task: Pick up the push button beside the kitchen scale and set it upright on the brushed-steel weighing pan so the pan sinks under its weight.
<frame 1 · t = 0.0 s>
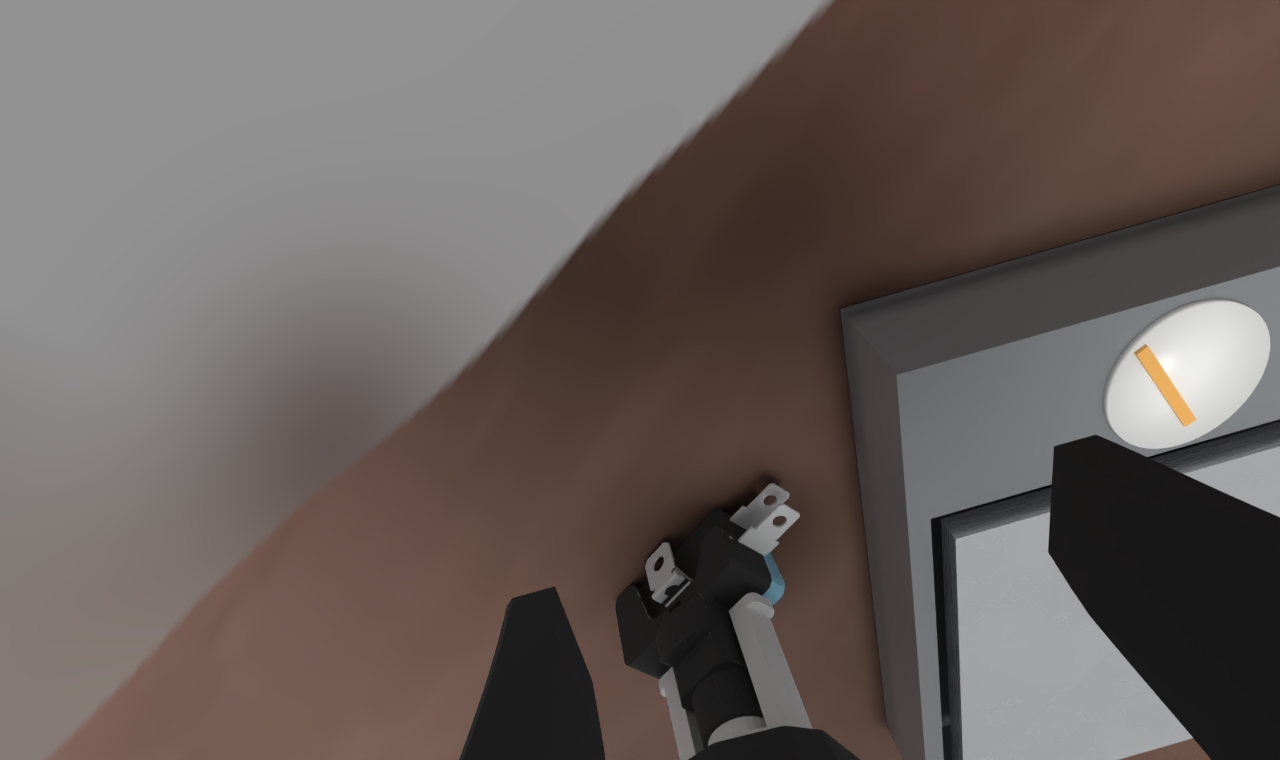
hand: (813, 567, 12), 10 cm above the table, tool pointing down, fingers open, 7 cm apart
weighing pan: (1149, 621, 24), point 4 cm above the table, slide at 0.0 cm
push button: (703, 548, 25), on the table
scale housing: (1078, 494, 26), on the table
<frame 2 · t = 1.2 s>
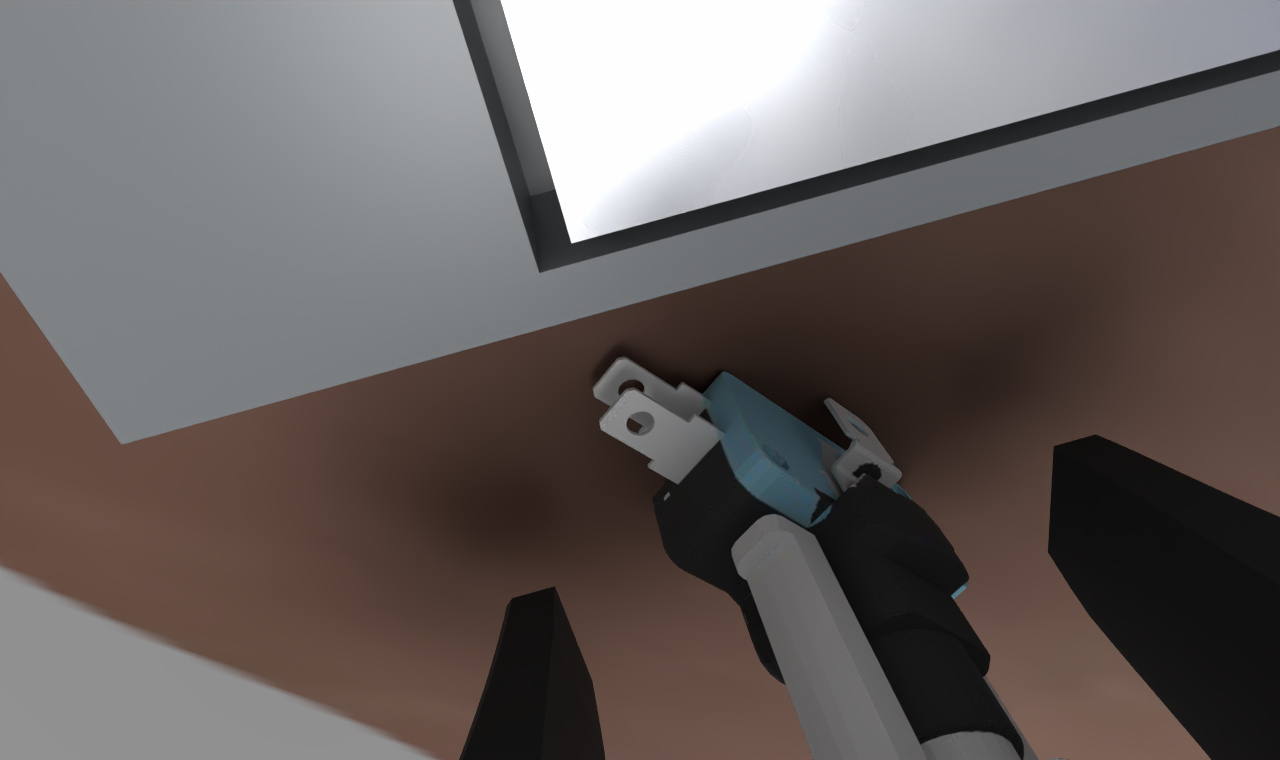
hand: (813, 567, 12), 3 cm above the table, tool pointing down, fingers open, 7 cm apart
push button: (753, 441, 14), on the table
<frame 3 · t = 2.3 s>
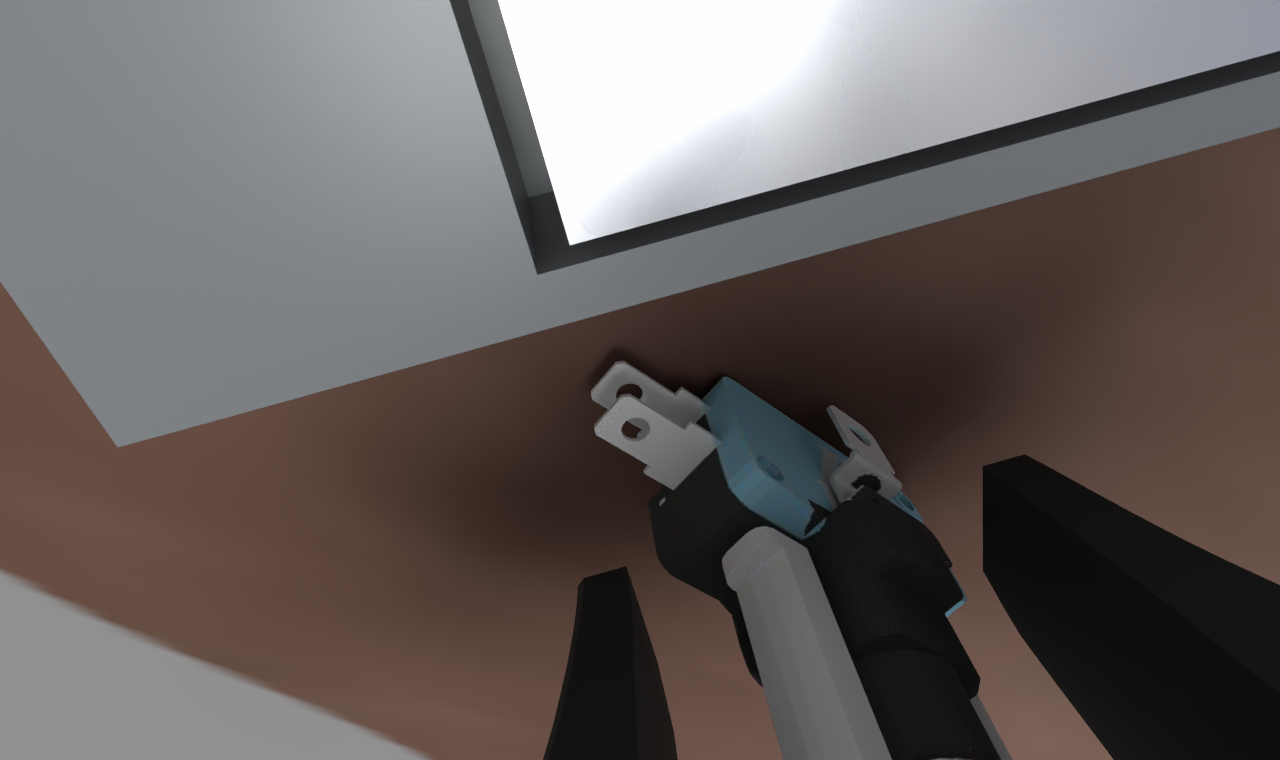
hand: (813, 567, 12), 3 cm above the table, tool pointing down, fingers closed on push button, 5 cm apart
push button: (755, 445, 14), on the table, touching gripper
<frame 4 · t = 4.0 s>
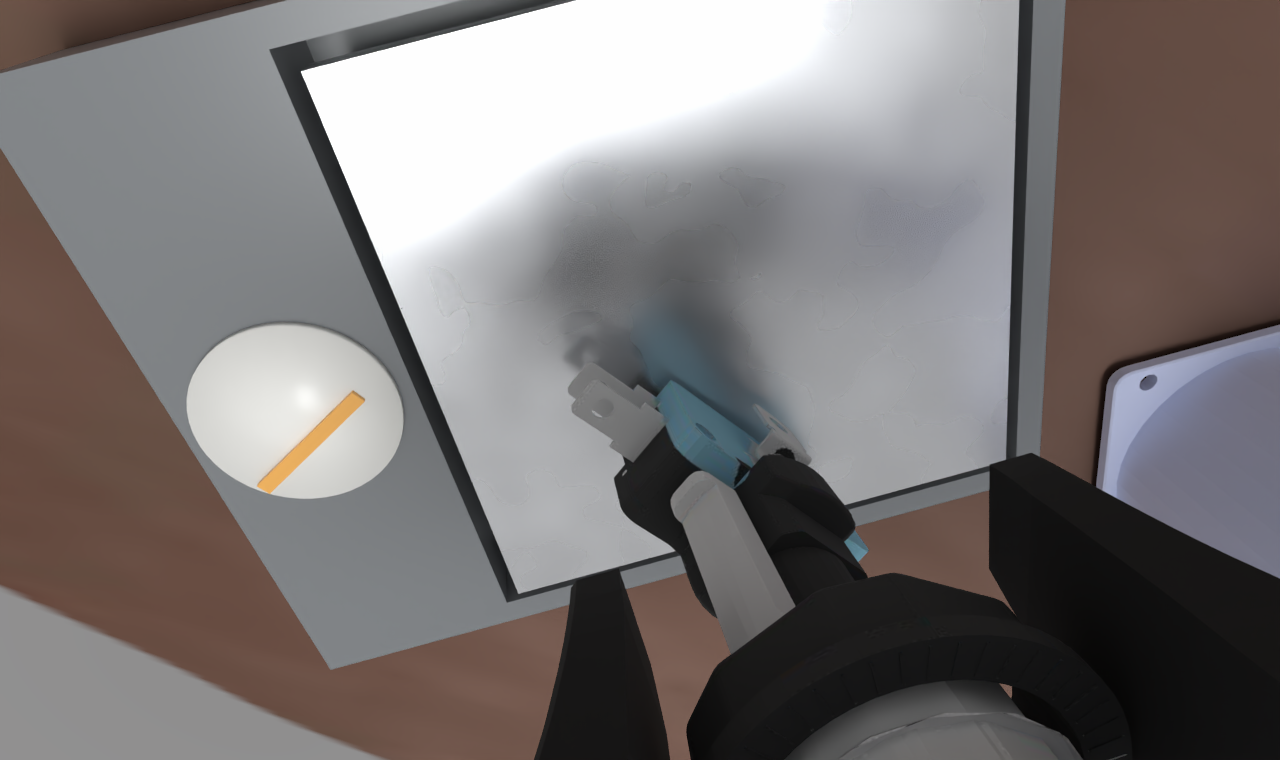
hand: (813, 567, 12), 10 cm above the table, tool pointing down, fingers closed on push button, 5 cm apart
weighing pan: (719, 297, 17), point 3 cm above the table, slide at 0.3 cm
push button: (699, 443, 18), point 4 cm above the table, touching gripper
scale housing: (605, 261, 19), on the table
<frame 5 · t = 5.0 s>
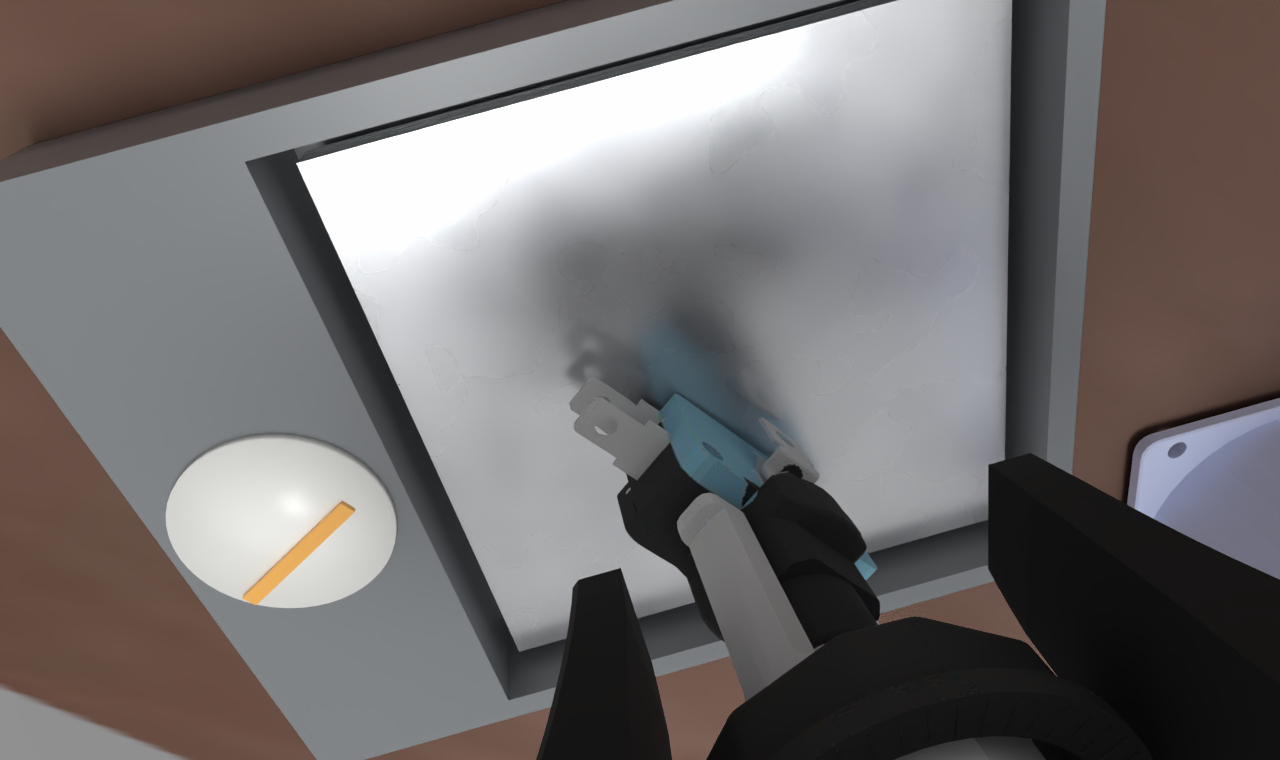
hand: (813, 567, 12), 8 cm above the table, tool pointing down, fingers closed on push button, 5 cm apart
weighing pan: (715, 364, 17), point 2 cm above the table, slide at 1.5 cm, touching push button
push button: (703, 456, 17), point 3 cm above the table, touching gripper, weighing pan
scale housing: (608, 342, 18), on the table
when the fingers open (8 cm above the table, at t = 5.5 s): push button stays where it is, resting on weighing pan.
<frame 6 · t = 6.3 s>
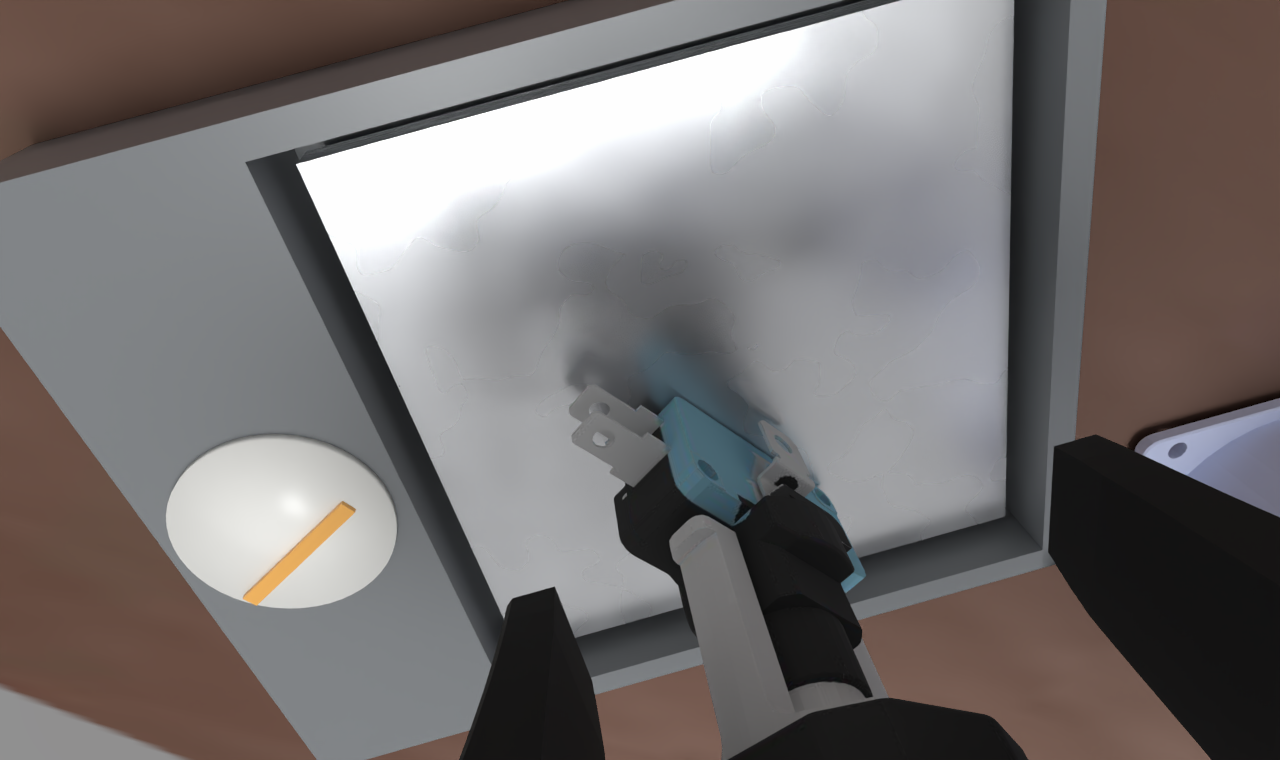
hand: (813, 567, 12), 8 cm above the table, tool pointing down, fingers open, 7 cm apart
weighing pan: (716, 365, 17), point 2 cm above the table, slide at 1.4 cm, touching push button
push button: (702, 452, 17), point 2 cm above the table, touching weighing pan
scale housing: (608, 342, 18), on the table
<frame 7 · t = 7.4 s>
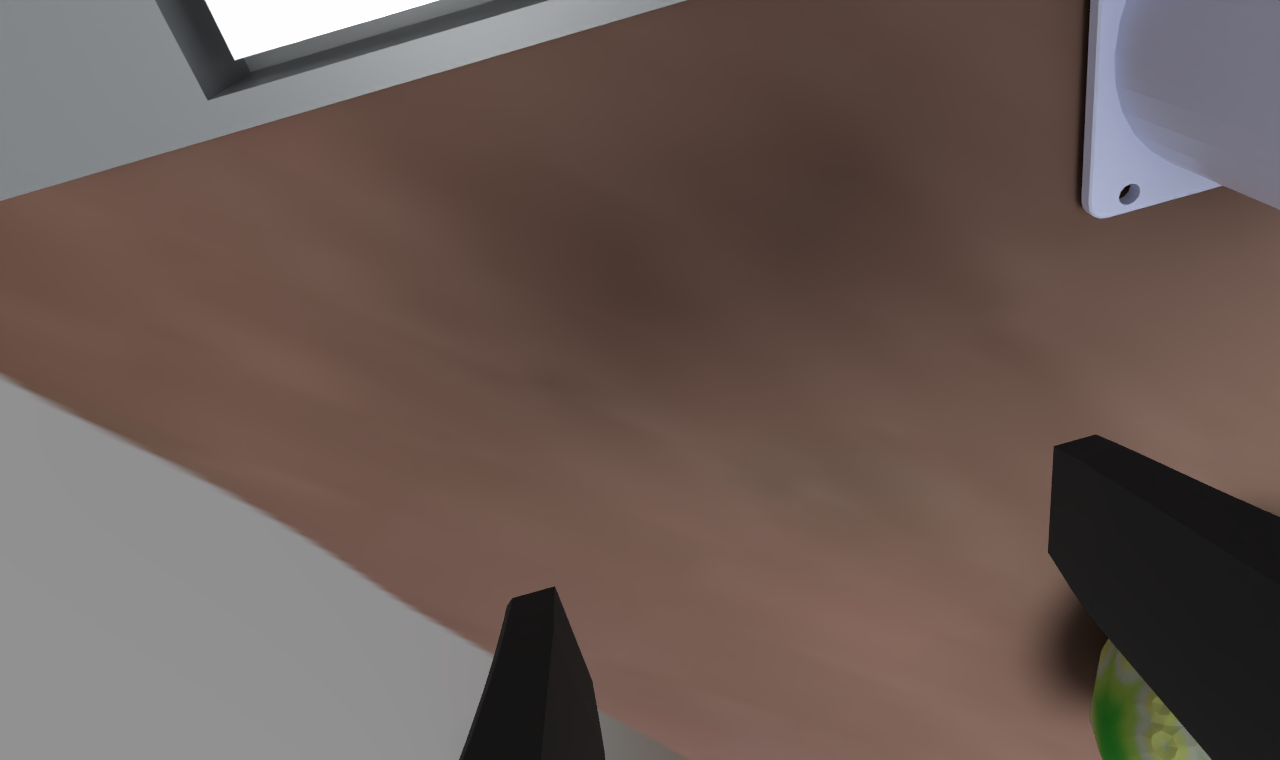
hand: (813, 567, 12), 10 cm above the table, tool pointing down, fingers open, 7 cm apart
decorative ball: (1161, 611, 30), on the table
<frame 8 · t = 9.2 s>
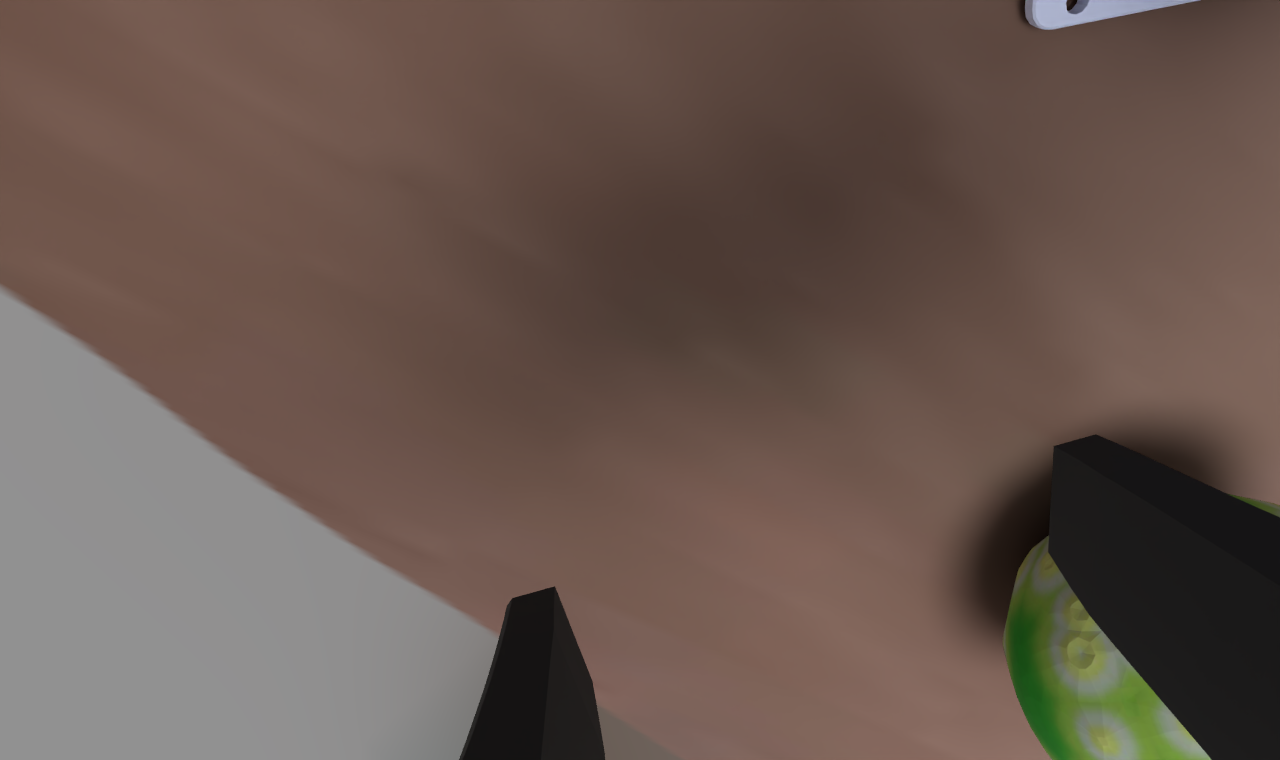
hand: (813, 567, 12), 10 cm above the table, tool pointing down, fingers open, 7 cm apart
decorative ball: (1082, 537, 28), on the table
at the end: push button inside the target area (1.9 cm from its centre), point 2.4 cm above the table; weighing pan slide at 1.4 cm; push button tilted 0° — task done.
